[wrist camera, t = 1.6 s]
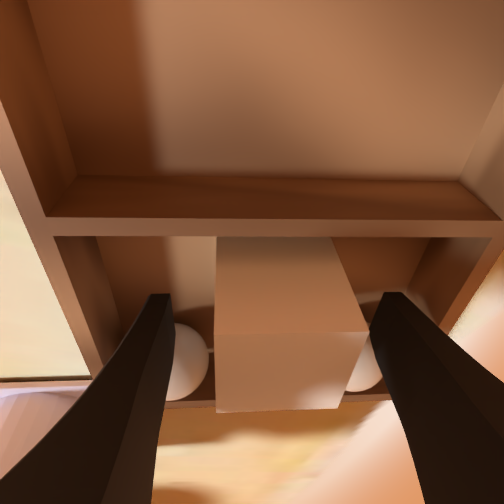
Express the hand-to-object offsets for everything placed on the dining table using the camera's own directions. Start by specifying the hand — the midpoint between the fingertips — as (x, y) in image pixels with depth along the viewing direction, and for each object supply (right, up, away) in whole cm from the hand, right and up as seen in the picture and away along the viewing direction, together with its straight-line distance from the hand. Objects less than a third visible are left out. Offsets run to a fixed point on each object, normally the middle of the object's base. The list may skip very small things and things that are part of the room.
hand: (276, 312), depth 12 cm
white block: (0, +2, +2) cm, 3 cm away
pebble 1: (-4, -2, +4) cm, 6 cm away
